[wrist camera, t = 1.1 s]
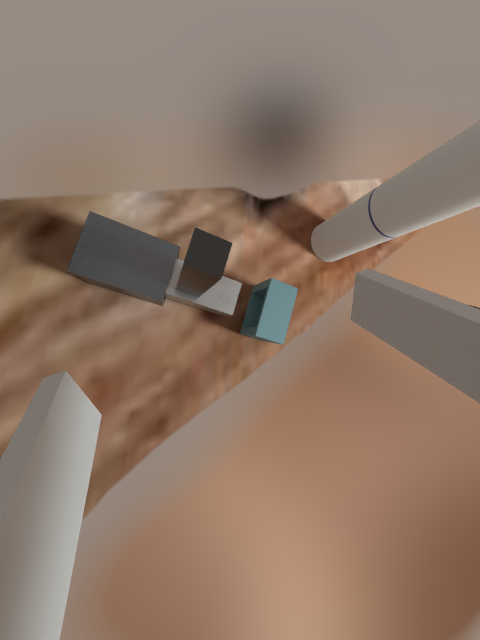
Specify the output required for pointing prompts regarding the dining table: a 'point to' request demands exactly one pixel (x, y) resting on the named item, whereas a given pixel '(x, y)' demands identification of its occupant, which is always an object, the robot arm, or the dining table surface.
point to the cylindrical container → (407, 200)
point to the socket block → (269, 311)
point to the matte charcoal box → (123, 259)
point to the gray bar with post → (204, 276)
